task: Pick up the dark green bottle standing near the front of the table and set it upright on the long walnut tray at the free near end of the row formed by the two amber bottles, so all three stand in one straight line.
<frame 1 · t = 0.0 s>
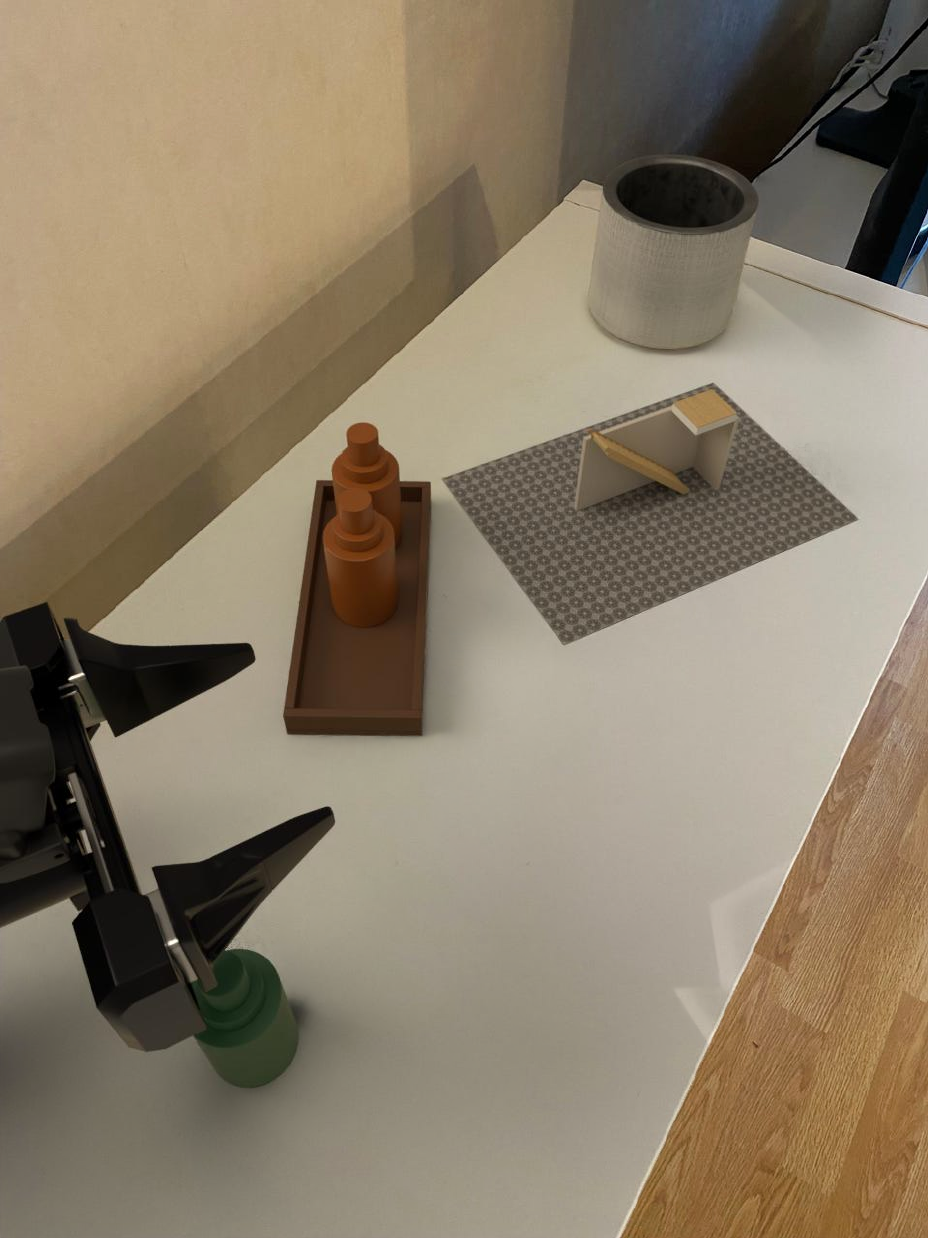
hand: (290, 728, 43), 16 cm above the table, tool horizontal, fingers open, 9 cm apart
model: (646, 500, 75), on the table
amber bottle far: (371, 536, 71), resting on tray
planter: (657, 314, 89), on the table
tray: (365, 606, 68), on the table
amber bottle middle: (365, 602, 68), resting on tray
green bottle: (253, 1041, 50), on the table
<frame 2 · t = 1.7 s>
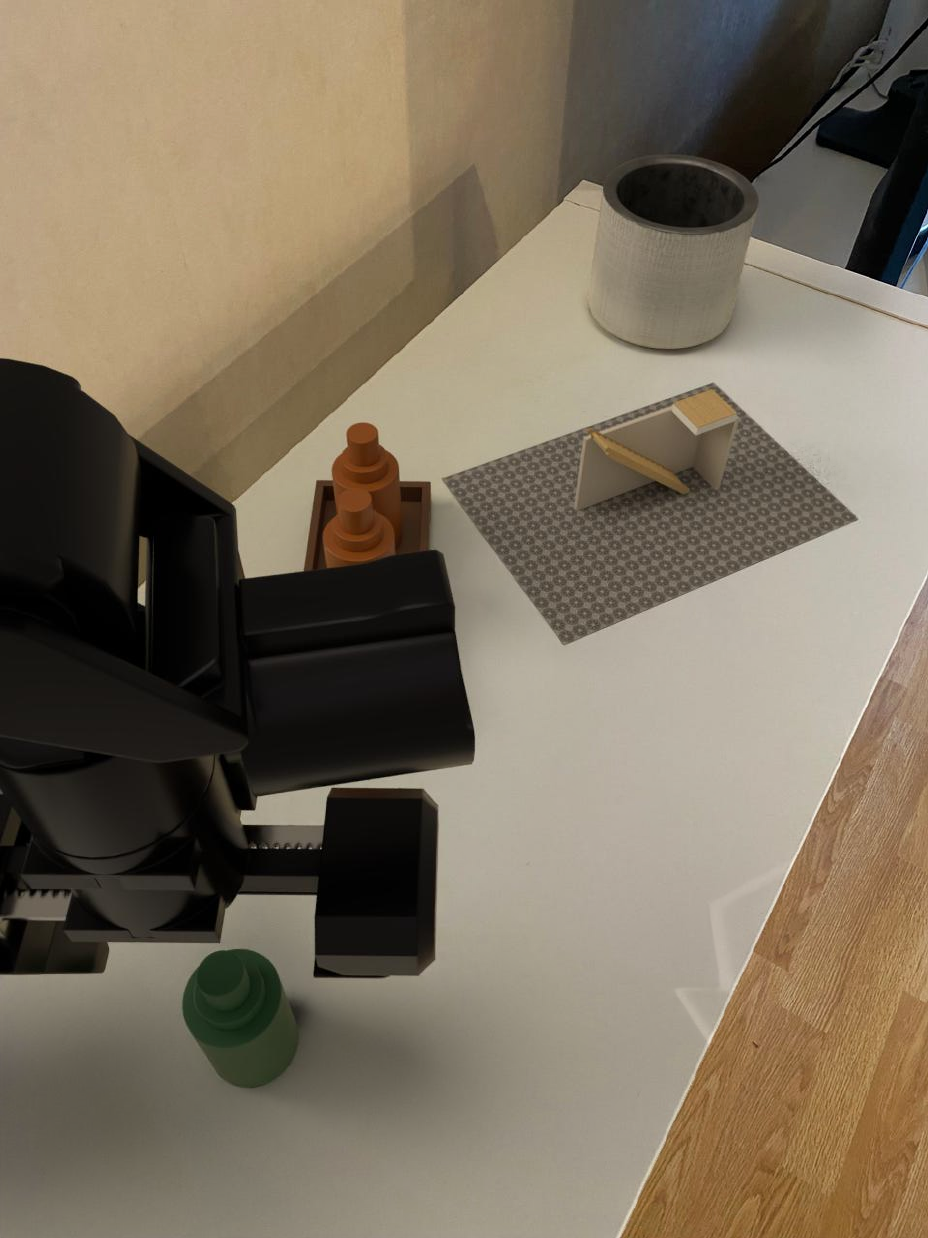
hand: (214, 962, 42), 11 cm above the table, tool pointing down, fingers open, 9 cm apart
nothing on the table moved.
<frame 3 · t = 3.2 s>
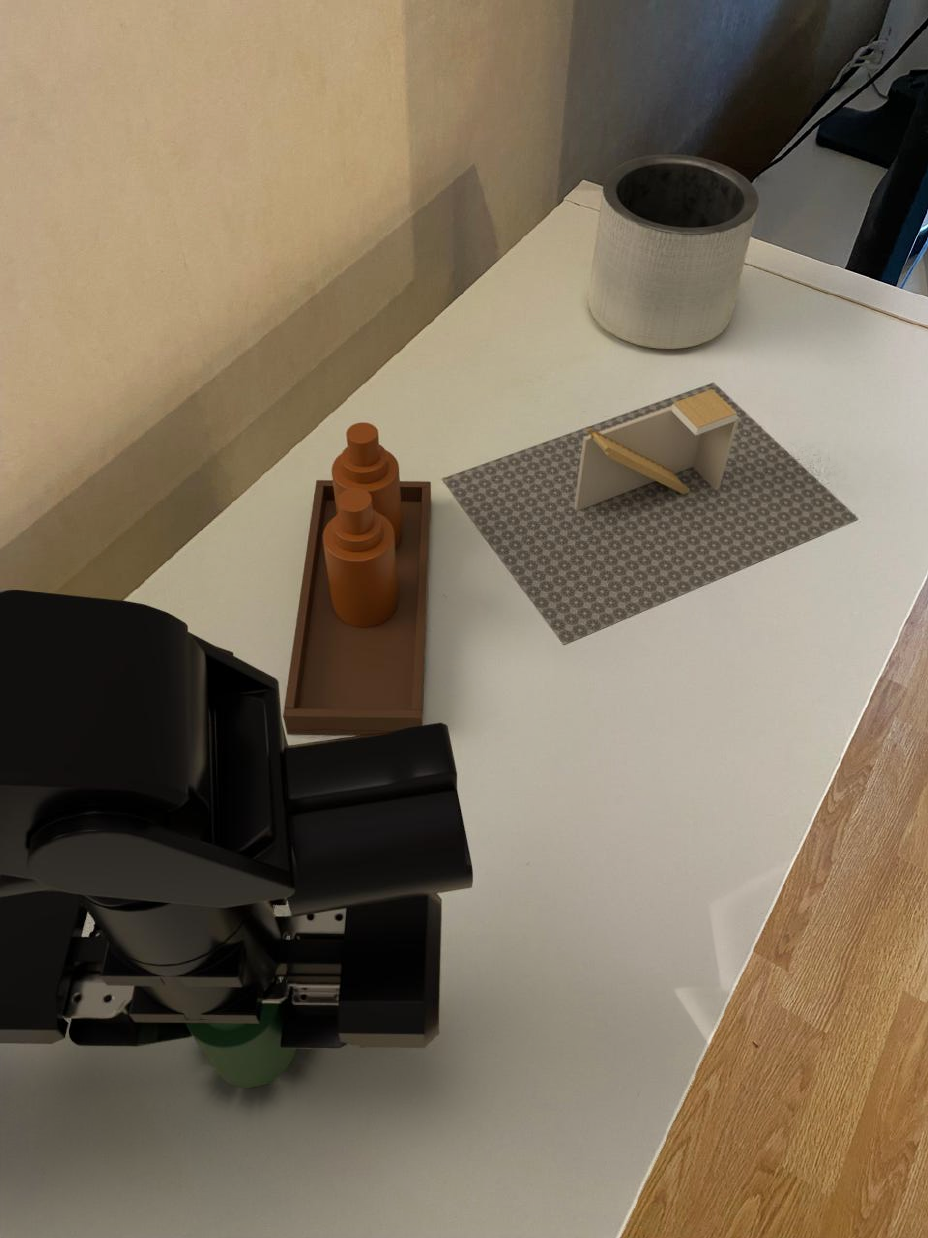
hand: (246, 1024, 48), 3 cm above the table, tool pointing down, fingers closed on green bottle, 4 cm apart
green bottle: (253, 1041, 50), on the table, touching gripper
everything else where it was.
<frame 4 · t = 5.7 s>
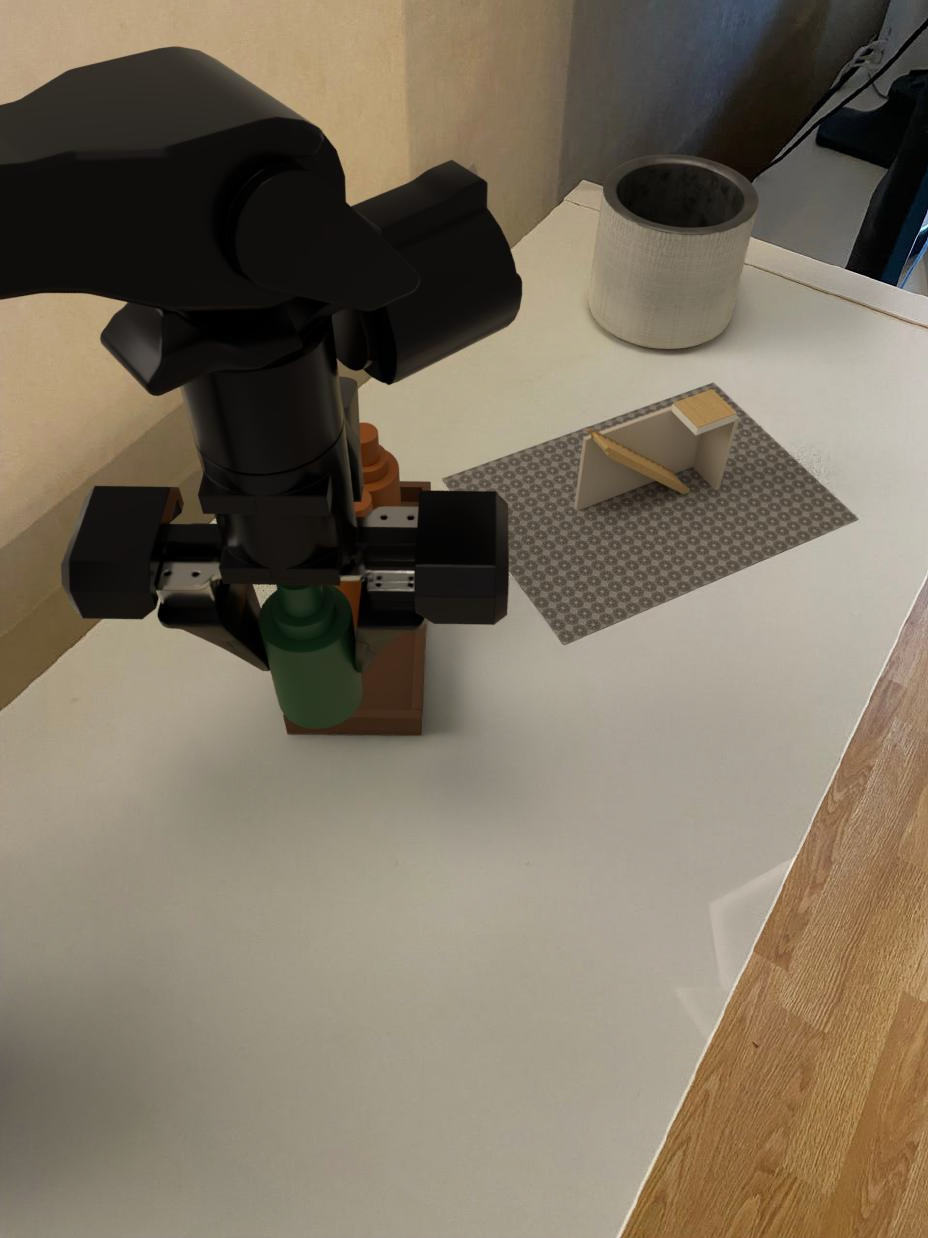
hand: (315, 664, 51), 11 cm above the table, tool pointing down, fingers closed on green bottle, 4 cm apart
green bottle: (320, 693, 53), point 9 cm above the table, touching gripper
everything else where it was.
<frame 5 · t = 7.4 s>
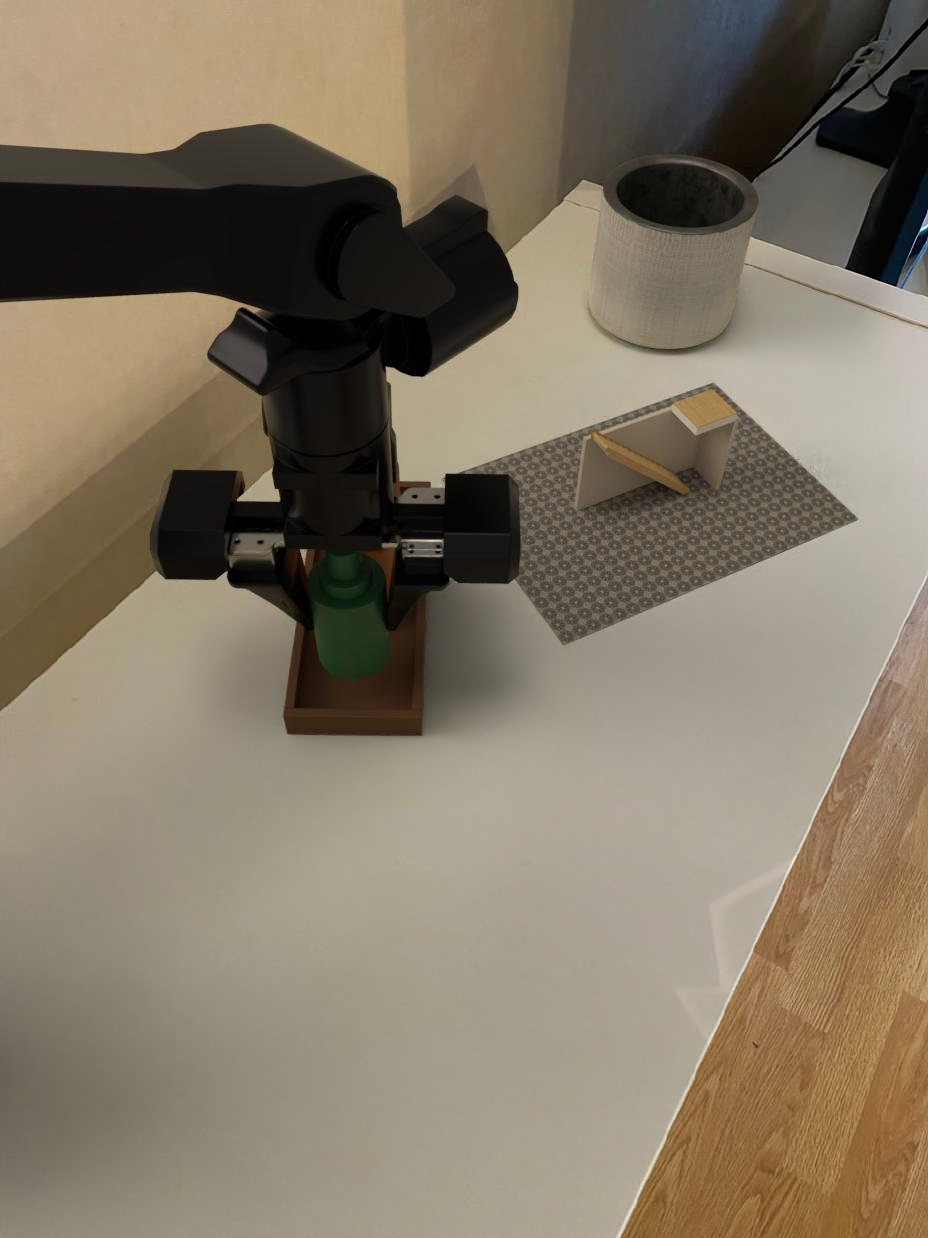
hand: (352, 624, 60), 6 cm above the table, tool pointing down, fingers closed on green bottle, 4 cm apart
green bottle: (354, 650, 62), point 3 cm above the table, touching gripper
everything else where it was.
when the fingers open (3 cm above the table, at t = 8.5 s): green bottle stays where it is, resting on tray.
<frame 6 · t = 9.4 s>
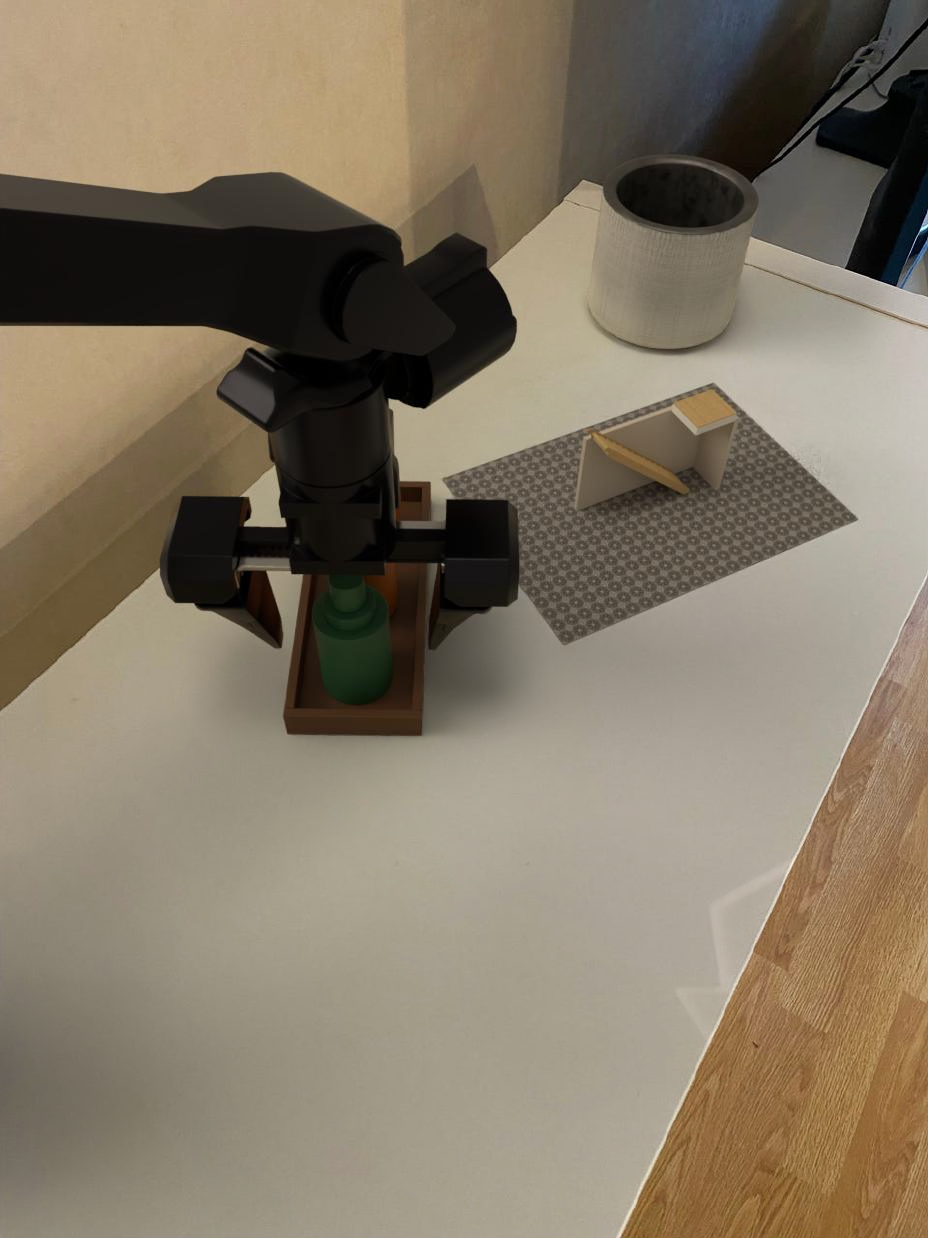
hand: (355, 643, 61), 4 cm above the table, tool pointing down, fingers open, 9 cm apart
green bottle: (358, 676, 64), resting on tray
everything else where it was.
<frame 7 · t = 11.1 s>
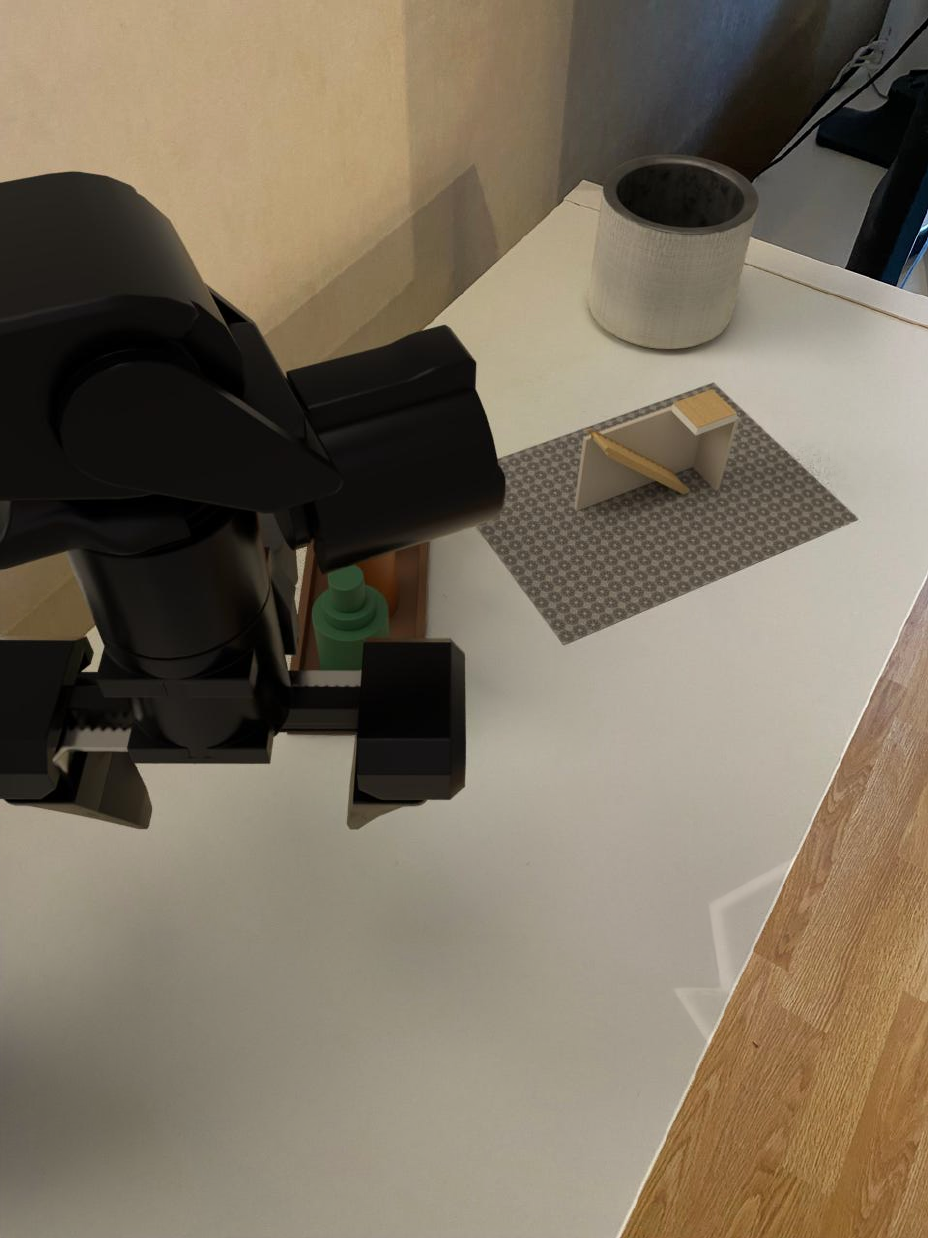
hand: (250, 819, 45), 12 cm above the table, tool pointing down, fingers open, 9 cm apart
nothing on the table moved.
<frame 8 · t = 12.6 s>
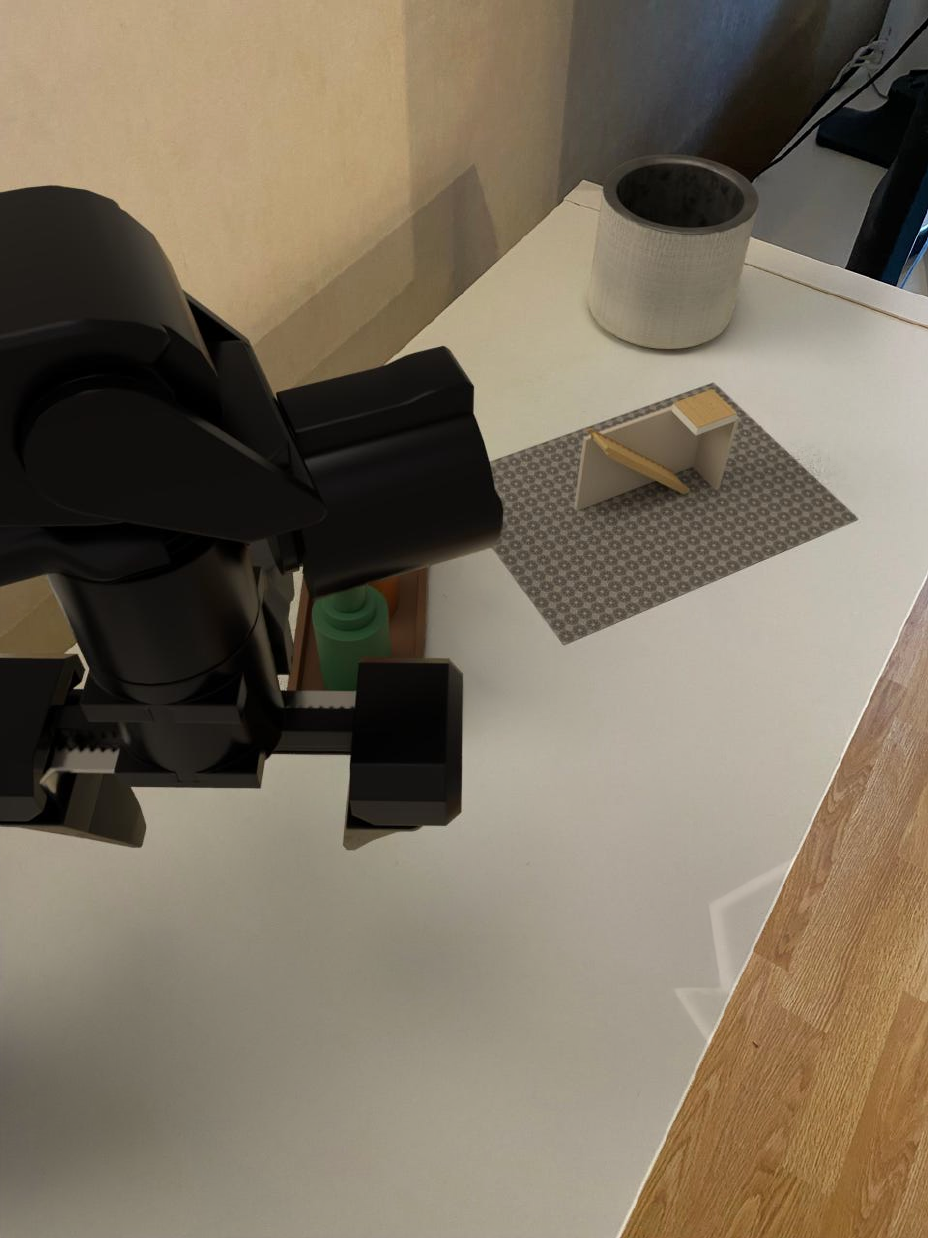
hand: (246, 838, 44), 12 cm above the table, tool pointing down, fingers open, 9 cm apart
nothing on the table moved.
at the end: green bottle 0.1 cm from the target spot in the tray, point 0.5 cm above the tray's base; green bottle tilted 0°; green bottle 12.1 cm from the amber bottle far (horizontally) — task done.
